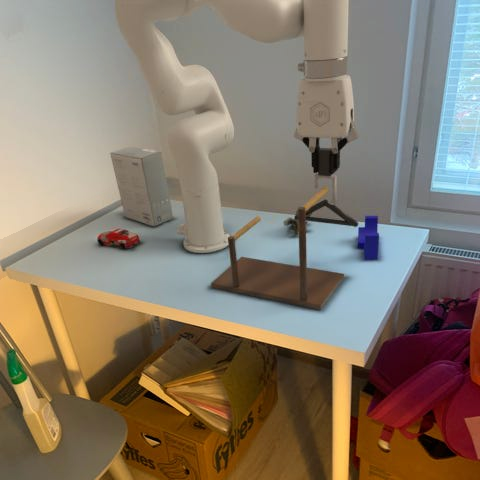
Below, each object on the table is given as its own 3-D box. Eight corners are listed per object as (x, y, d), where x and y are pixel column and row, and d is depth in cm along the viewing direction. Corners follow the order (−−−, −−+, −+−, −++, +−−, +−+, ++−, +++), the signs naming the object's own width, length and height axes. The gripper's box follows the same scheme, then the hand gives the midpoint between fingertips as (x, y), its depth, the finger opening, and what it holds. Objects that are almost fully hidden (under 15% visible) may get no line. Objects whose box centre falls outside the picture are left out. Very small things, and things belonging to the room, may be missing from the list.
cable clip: (358, 238, 124) (358, 215, 121) (376, 238, 123) (377, 215, 120) (357, 259, 115) (358, 235, 111) (377, 259, 114) (379, 235, 110)
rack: (211, 287, 110) (198, 199, 99) (242, 260, 120) (233, 177, 109) (320, 310, 98) (320, 212, 87) (344, 278, 108) (347, 186, 97)
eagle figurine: (316, 233, 127) (319, 214, 133) (300, 213, 123) (304, 194, 130) (292, 246, 131) (297, 227, 137) (276, 227, 128) (281, 208, 134)
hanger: (293, 220, 107) (290, 148, 98) (296, 218, 108) (293, 146, 100) (356, 228, 100) (359, 151, 92) (359, 225, 101) (362, 149, 93)
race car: (94, 245, 137) (90, 231, 135) (108, 237, 141) (104, 224, 138) (130, 251, 131) (127, 237, 128) (143, 243, 134) (140, 229, 132)
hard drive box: (174, 218, 148) (162, 151, 137) (154, 227, 143) (140, 158, 132) (143, 209, 157) (130, 145, 146) (123, 217, 153) (108, 152, 142)
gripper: (276, 74, 89) (280, 174, 99) (363, 71, 82) (359, 180, 92) (293, 67, 94) (296, 163, 104) (376, 64, 87) (371, 168, 97)
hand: (325, 170), depth 98 cm, fingers closed on hanger, 2 cm apart
